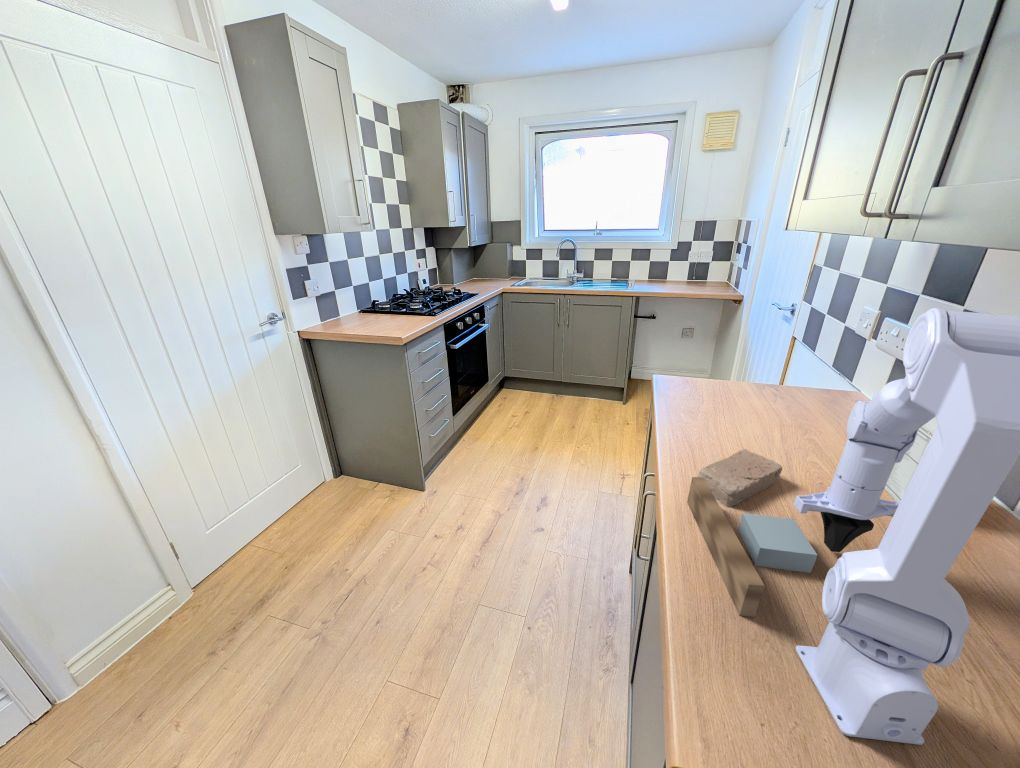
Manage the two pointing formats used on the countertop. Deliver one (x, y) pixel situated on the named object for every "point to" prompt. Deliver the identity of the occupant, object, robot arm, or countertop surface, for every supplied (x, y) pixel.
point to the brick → (740, 476)
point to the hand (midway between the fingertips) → (831, 547)
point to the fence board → (725, 549)
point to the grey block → (776, 543)
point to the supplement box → (910, 462)
